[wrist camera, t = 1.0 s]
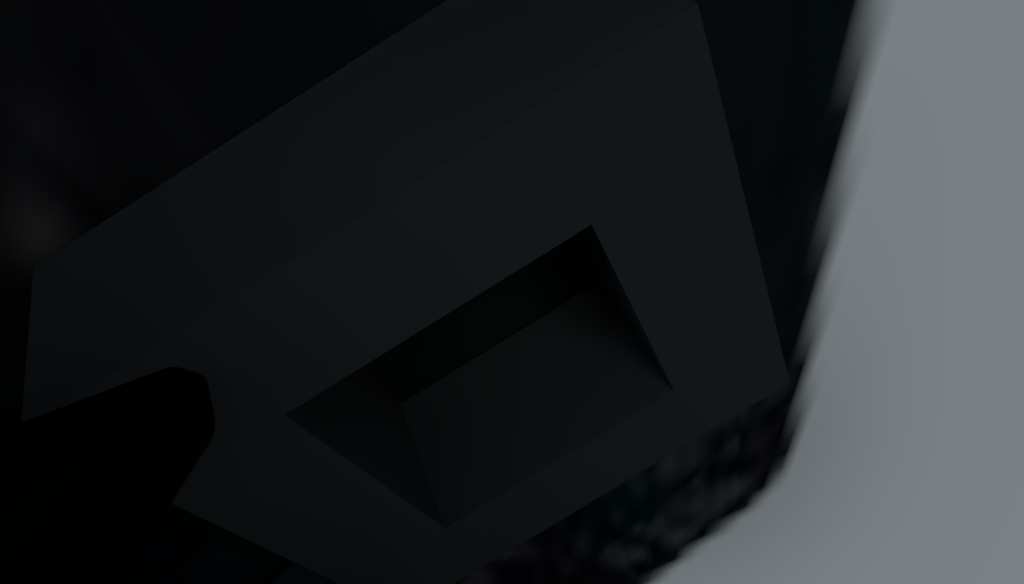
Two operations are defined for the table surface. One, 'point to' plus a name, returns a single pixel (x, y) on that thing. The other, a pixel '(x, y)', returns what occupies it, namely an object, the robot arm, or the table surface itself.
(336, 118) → the socket block
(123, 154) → the table surface
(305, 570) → the long peg
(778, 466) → the table surface
